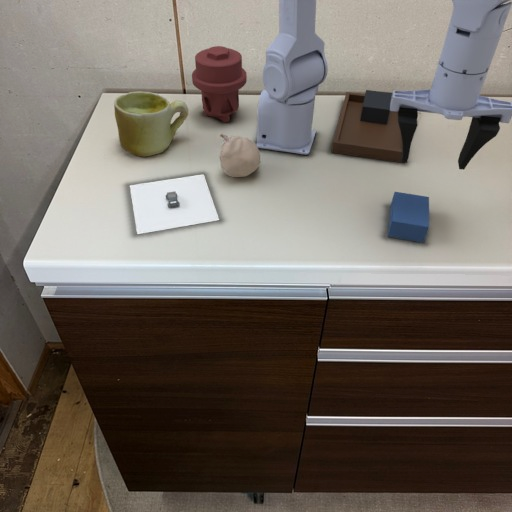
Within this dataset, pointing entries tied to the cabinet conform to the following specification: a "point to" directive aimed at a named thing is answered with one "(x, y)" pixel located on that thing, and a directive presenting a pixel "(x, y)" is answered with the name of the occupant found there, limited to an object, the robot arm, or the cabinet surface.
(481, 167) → the cabinet surface
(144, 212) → the white paper sheet
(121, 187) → the cabinet surface
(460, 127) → the cabinet surface
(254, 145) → the garlic bulb
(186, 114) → the mug
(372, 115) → the charcoal block
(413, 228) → the blue block
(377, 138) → the tray
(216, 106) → the mechanical component
